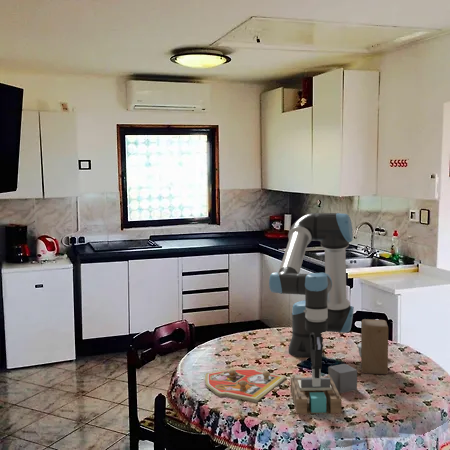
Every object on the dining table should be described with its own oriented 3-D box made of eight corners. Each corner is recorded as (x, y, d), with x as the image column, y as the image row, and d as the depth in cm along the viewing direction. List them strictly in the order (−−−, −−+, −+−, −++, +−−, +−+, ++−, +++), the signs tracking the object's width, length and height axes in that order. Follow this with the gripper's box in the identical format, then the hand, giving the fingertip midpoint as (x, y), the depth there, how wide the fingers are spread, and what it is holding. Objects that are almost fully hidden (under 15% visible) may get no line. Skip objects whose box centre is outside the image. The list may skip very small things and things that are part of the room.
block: (309, 406, 191) (309, 392, 191) (323, 406, 191) (323, 392, 190) (311, 412, 186) (311, 398, 186) (326, 412, 186) (326, 398, 185)
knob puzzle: (256, 406, 195) (256, 393, 194) (186, 390, 209) (185, 379, 208) (288, 378, 220) (288, 367, 219) (223, 366, 234) (223, 355, 234)
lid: (297, 382, 199) (297, 372, 198) (328, 382, 199) (328, 371, 198) (300, 390, 192) (300, 379, 191) (331, 390, 192) (331, 379, 191)
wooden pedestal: (290, 392, 205) (290, 375, 204) (331, 391, 204) (331, 374, 204) (296, 415, 186) (296, 396, 185) (341, 414, 185) (341, 395, 185)
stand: (328, 387, 208) (328, 366, 208) (344, 383, 211) (344, 363, 211) (340, 394, 202) (340, 373, 201) (356, 390, 205) (357, 369, 204)
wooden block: (387, 375, 219) (388, 326, 217) (361, 373, 221) (362, 325, 219) (385, 366, 229) (386, 319, 227) (360, 365, 231) (361, 318, 229)
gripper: (302, 314, 195) (302, 378, 197) (308, 324, 182) (308, 393, 184) (324, 313, 195) (323, 378, 197) (330, 324, 182) (330, 393, 184)
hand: (316, 385), depth 191 cm, fingers closed
